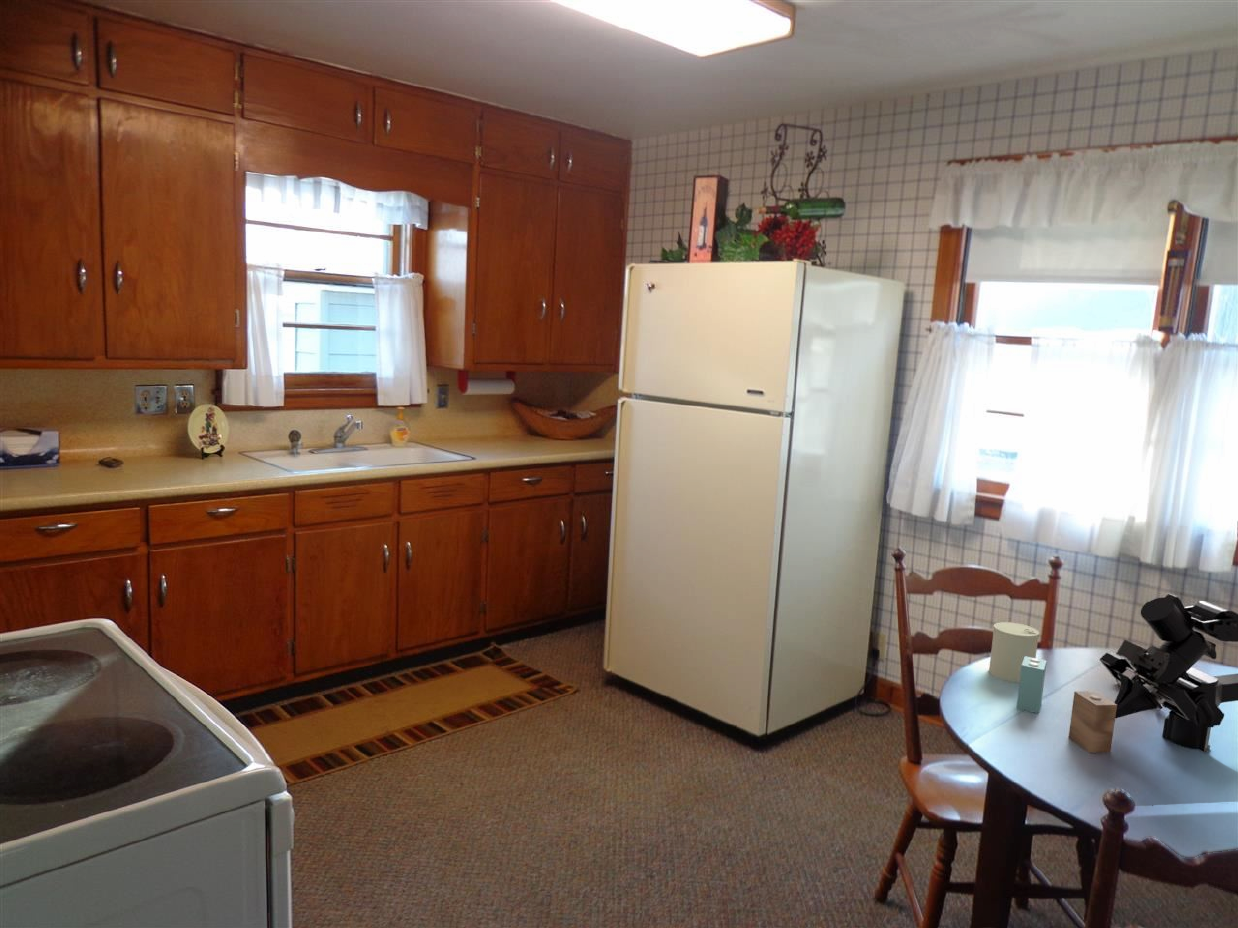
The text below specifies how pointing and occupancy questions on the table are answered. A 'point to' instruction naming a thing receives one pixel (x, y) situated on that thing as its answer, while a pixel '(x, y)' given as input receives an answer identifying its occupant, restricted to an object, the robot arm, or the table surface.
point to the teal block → (1031, 684)
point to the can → (1011, 649)
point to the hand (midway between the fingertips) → (1112, 715)
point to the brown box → (1092, 721)
